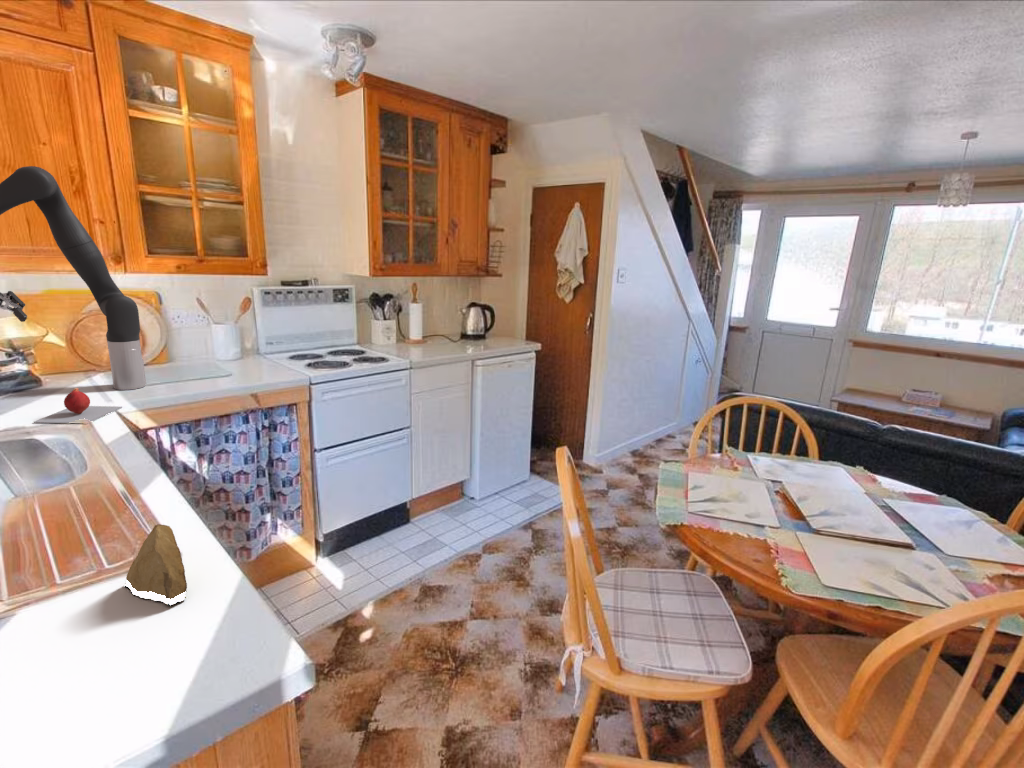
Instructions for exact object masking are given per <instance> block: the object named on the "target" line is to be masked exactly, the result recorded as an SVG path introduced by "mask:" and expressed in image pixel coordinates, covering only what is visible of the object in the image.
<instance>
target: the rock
mask: <svg viewBox="0 0 1024 768" xmlns="http://www.w3.org/2000/svg"><path fill="white" fill-rule="evenodd" d="M185 572H186V570H185V565H184V562H183V557H182V554H181V550H180V547H179V546H178V543H177V540H176V537H175V534H174V530H173V529H172V528H171V526H170V525H166V524H155V525H154V526H153V527H152V530H151V531H150V532H149V533H148V535H147V536H146V538H145V540H143V543H142V545H141V547H140V549H139V550H138V552H137V556H136V558H135V559H134V560H133V561H132V563H131V565H130V567H129V570H128V571H127V574H126V578H125V579H126V580H128V581H129V582H130V583H131V585H132V587H133V588H135V589H136V590H137V591H147V592H149V591H152V592H155V593H157V594H161V595H165V596H166V598H170V599H171V598H174V597H175V596H177V595H179V594H181V593H183V592H185V591H186V592H187V590H188V589H187V588H188V583H187V579H186V574H185Z"/></svg>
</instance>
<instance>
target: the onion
mask: <svg viewBox="0 0 1024 768" xmlns="http://www.w3.org/2000/svg"><path fill="white" fill-rule="evenodd" d="M63 405H64V407H65V409H68V410H69V411H71V412H74V413H77V414H81V413H82V412H83V411H84V410H86V409H87V408H88V407H89V406H91V400H90V397H89V396H88V395H87V394H86V393H84V392H82V391H80V390H79V387H75V388H73V389H72V391H70V392H69V393H67V395H66V396H65V398H64V401H63Z"/></svg>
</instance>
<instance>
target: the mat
mask: <svg viewBox="0 0 1024 768" xmlns="http://www.w3.org/2000/svg"><path fill="white" fill-rule="evenodd" d="M122 408H123V406H115V405H113V406H111V405H110V406H109V405H107V406H106V405H105V406H103V405H102V406H101V405H100V406H99V405H89V407H88V408H87V409H86V410H84V411H83V412H82V413H81V414H77V413H74V412H71V411H69V410H68V409H67V408H65V409H64V408H63V409H62V410H60V411H57V412H55V413H51V414H50V415H47V416H45V417H42V418H39V419H37V420H34V421H33V422H34V423H69V422H72V421H75V420H79V419H84V418H85V419H88V420H90V421H93V422H95V421H97V420H100V419H101V418H103V416H104V415H106V414H108V413H110V414H112V413H115V412H117V411H118V410H120V409H121V410H122ZM111 412H112V413H111ZM108 415H109V414H108ZM106 416H107V415H106ZM104 417H105V416H104Z"/></svg>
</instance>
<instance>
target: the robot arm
mask: <svg viewBox="0 0 1024 768" xmlns="http://www.w3.org/2000/svg"><path fill="white" fill-rule="evenodd" d="M29 202H34V203H35V204H36V205H37V207H38V209H39V210H40V211H41V213H42V214H43V215H44V217H45V219H46V221H47V224H48V226H49V227H48V228H49V229H50V232H51V234H52V236H53V237H52V238H53V239H54V241H55V244H56V245H57V247H58V248H59V250H60V251H61V253H62V255H63V256H64V258H66V260H67V261H68V263H69V264H70V265H71V267H72V269H74V271H75V272H76V274H78V276H79V277H80V279H82V280H83V283H85V285H86V286H87V287H88V288H89V290H90V292H91V294H92V296H93V298H94V300H95V301H96V303H97V305H98V307H99V310H100V311H101V313H102V314H103V315H104V316H105V318H106V319H105V320H106V325H107V326H106V327H107V328H106V329H107V330H106V334H105V335H106V336H105V337H106V343H107V349H108V356H109V363H110V370H111V376H112V384H113V388H114V389H115V390H120V391H121V390H122V391H123V390H124V391H127V390H128V391H129V390H136V389H141V388H144V387H146V385H147V379H146V371H145V364H144V359H143V355H142V348H141V341H140V340H141V339H140V334H141V333H140V332H141V324H140V315H139V313H140V312H139V308H138V305H137V303H136V302H135V300H134V299H132V298H131V297H130V296H127V295H125V294H124V293H123V292H122V291H121V290H120V288H119V287H118V286H117V284H116V283H115V281H114V280H113V278H112V276H111V274H110V271H109V269H108V266H107V264H106V261H105V259H104V256H103V254H102V253H101V250H100V249H99V247H98V246H97V244H96V243H95V241H94V240H93V238H92V237H91V235H90V234H89V233H88V231H87V229H86V228H85V226H84V225H83V224H82V222H81V221H80V220H79V218H78V217H77V216H76V215H75V213H74V211H73V210H72V208H71V207H70V205H69V203H68V202H67V199H66V197H65V196H64V194H63V191H62V190H61V188H60V186H59V184H58V182H57V179H55V177H54V175H52V174H51V172H49V171H48V170H46V169H44V168H42V167H39V166H33V165H31V166H30V165H29V166H22V167H19V168H17V169H15V171H14V172H12V174H10V175H9V176H8V177H6V178H5V179H4V180H3V181H1V182H0V216H1V215H3V214H4V213H6V212H8V211H9V210H12V209H14V208H16V207H18V206H21V205H23V204H26V203H29ZM3 302H4V304H3ZM24 307H26V303H24V301H23V300H22V299H21V298H20V297H18V296H17V294H16V293H14V292H13V291H12V290H8V291H7V292H3V293H2V292H1V291H0V309H1V310H3V311H4V310H7V311H9V312H11V313H12V314H13V315H14V317H16V319H18V320H19V321H20V322H23V323H24V322H26V320H27V319H28V315H27V314H26V313H25V312H24V310H23V309H24Z"/></svg>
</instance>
